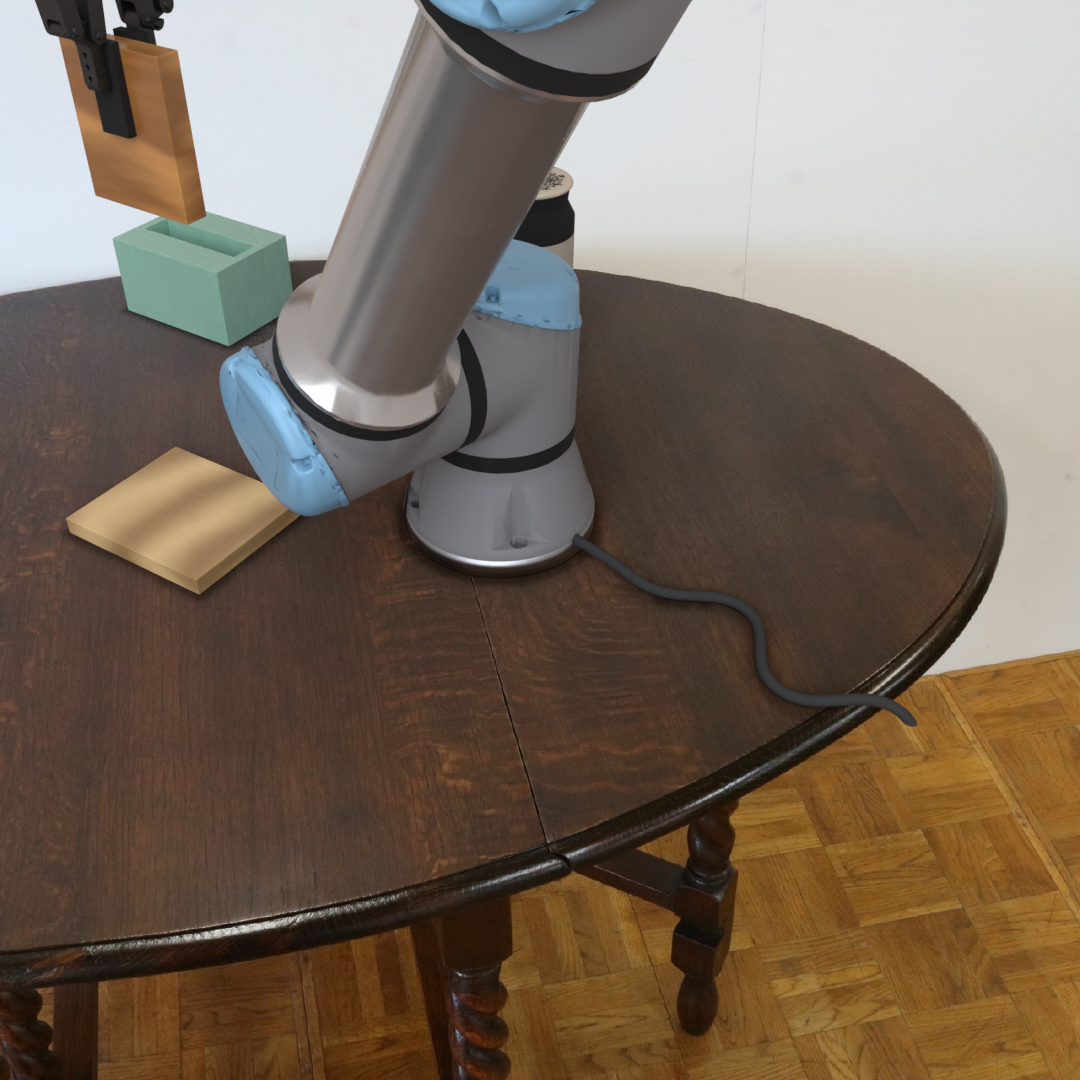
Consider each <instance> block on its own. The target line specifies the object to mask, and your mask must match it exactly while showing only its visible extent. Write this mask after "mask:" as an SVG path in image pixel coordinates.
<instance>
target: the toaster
mask: <svg viewBox="0 0 1080 1080" xmlns="http://www.w3.org/2000/svg"><path fill="white" fill-rule="evenodd" d="M112 243H113V249H114V252H115V257H116V261H117V266H118V269H119V275H120V278H121V283H122V288H123V292H124V297H125V301H126V306H127V310H128V311H130V312H132V313H135V314H137V315H141V316H143V317H147V318H149V319H151V320H155V321H158V322H160V323H162V324H165V325H168V326H171V327H174V328H176V329H180V330H182V331H185V332H188V333H191V334H193V335H196V336H199V337H202V338H205V339H207V340H210V341H213V342H215V343H218V344H220V345H224V346H225V347H230V346H232V345H234V344H235V343H237V342H239V341H240V340H242V339H243V338H245V337H247V336H248V335H250V334H252V333H253V332H255V331H257V330H259V329H260V328H262V327H264V326H265V325H267V324H269V323H270V322H272V321H273V320H275V319H278V318H279V315H280V312H281V310H282V308H283V306H284V304H285V302H286V301H287V299H288V298H289V297H290V295H291V294H292V292H293V291H294V290H293V283H292V274H291V267H290V260H289V259H290V258H289V251H288V250H289V249H288V242H287V235H285V234H282V233H279V232H276V231H272V230H268V229H265V228H262V227H258V226H255V225H252V224H248V223H246V222H243V221H239V220H236V219H232V218H229V217H226V216H223V215H220V214H216V213H213V212H209V211H207V210H206V217H204V218H202V219H199V220H197V221H195V222H193V223H191V224H189V225H185V224H182V223H179V222H176V221H173V220H170V219H167V218H164V217H161V216H157V217H155V218H153V219H151V220H149V221H147V222H145V223H142V224H140V225H139V226H136V227H133V228H132V229H129V230H127V231H125V232H123V233H120V234H119V235H116V236H114V237H113V238H112Z"/></svg>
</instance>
